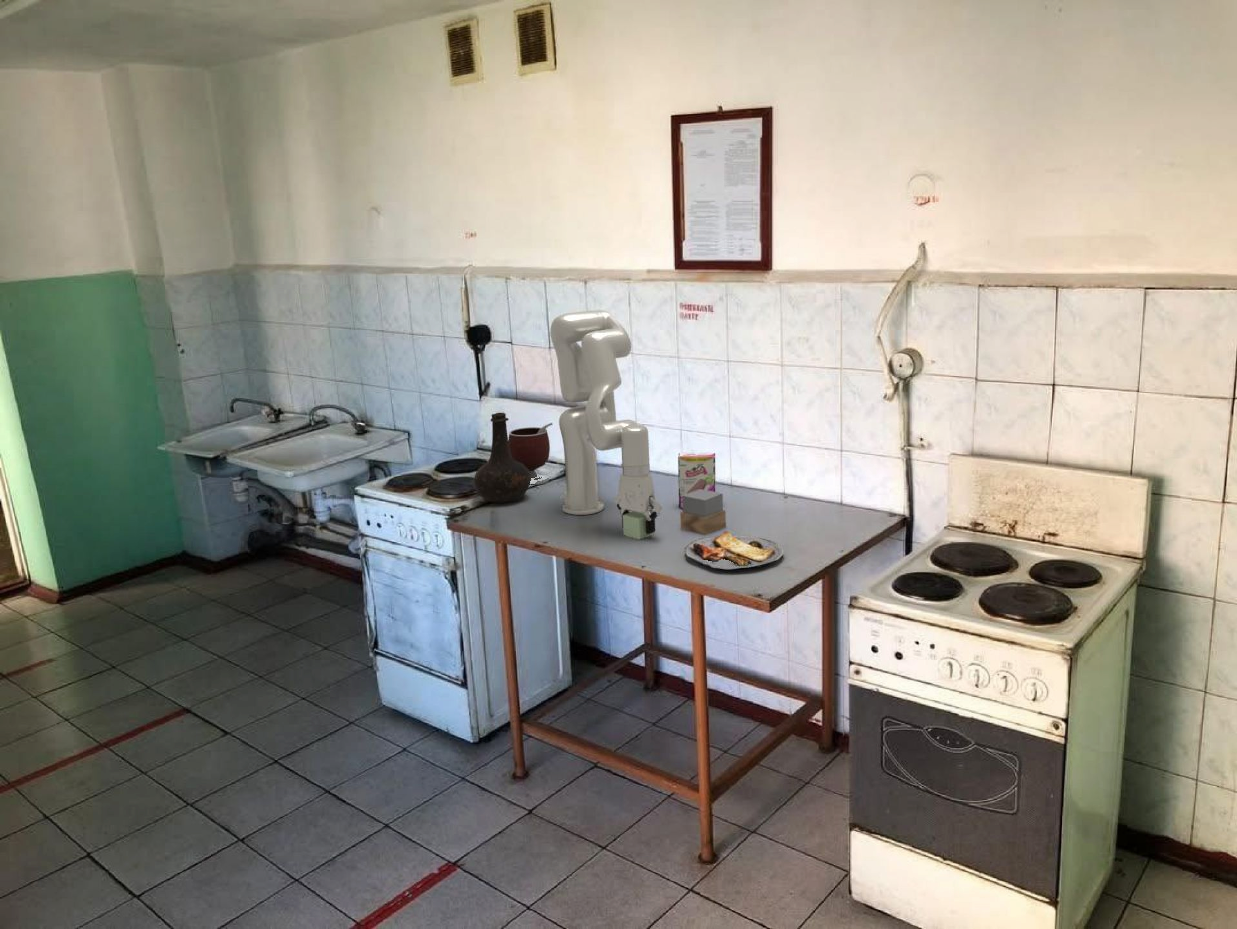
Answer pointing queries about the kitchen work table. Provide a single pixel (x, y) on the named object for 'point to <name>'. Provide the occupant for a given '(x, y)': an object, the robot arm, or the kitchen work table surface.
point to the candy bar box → (695, 473)
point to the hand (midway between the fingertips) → (638, 529)
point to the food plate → (733, 550)
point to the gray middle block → (702, 503)
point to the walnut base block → (703, 522)
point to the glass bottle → (501, 468)
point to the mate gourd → (530, 448)
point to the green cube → (635, 525)
